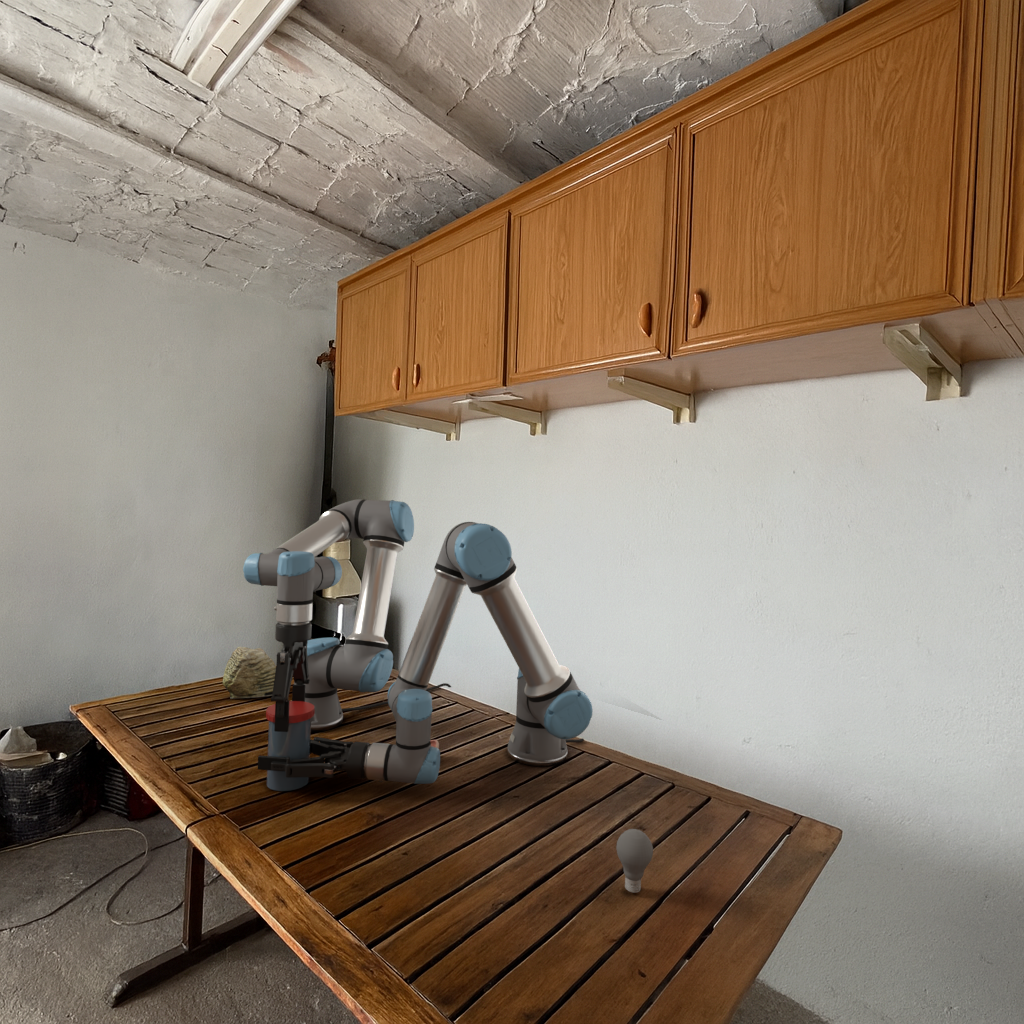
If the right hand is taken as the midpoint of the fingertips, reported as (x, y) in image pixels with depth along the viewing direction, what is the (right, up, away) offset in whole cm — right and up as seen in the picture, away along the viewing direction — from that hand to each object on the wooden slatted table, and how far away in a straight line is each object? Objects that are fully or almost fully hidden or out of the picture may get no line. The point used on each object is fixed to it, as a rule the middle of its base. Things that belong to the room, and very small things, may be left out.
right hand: (268, 753), depth 140 cm
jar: (+4, -6, 0) cm, 8 cm away
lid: (+5, +10, -1) cm, 11 cm away
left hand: (+5, +7, -1) cm, 9 cm away
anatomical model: (+29, -7, +13) cm, 33 cm away
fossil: (-27, -4, +58) cm, 64 cm away
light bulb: (+74, -10, -34) cm, 82 cm away
